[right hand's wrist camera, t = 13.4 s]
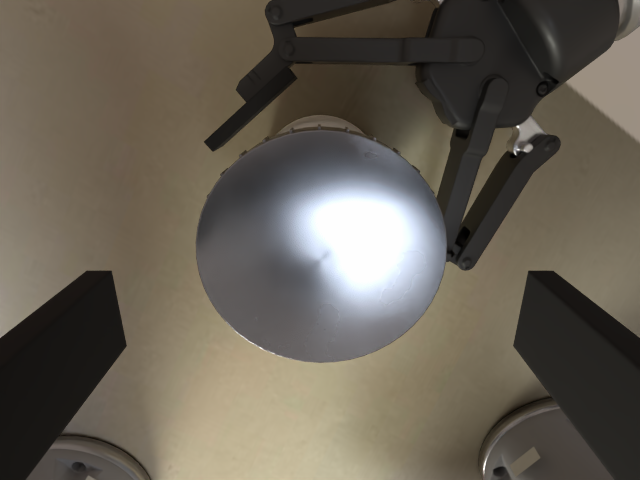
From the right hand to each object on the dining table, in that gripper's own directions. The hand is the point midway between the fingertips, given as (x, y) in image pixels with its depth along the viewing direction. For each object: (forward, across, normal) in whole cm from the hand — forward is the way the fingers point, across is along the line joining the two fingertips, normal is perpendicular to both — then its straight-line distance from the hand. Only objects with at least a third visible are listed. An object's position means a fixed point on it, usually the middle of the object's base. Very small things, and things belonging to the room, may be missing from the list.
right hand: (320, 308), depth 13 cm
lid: (+4, 0, 0) cm, 4 cm away
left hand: (+15, -2, -2) cm, 15 cm away
